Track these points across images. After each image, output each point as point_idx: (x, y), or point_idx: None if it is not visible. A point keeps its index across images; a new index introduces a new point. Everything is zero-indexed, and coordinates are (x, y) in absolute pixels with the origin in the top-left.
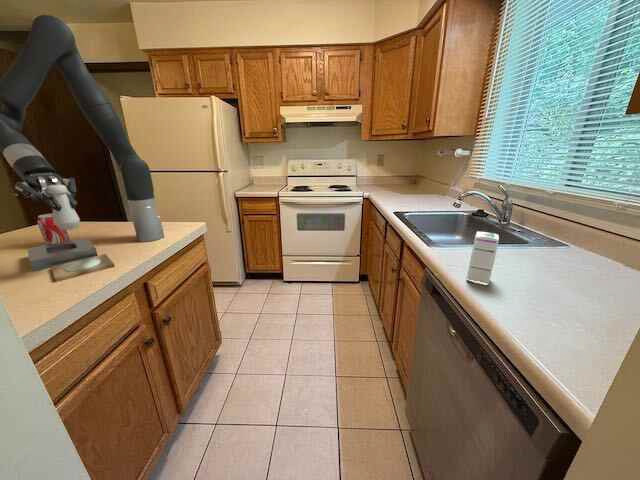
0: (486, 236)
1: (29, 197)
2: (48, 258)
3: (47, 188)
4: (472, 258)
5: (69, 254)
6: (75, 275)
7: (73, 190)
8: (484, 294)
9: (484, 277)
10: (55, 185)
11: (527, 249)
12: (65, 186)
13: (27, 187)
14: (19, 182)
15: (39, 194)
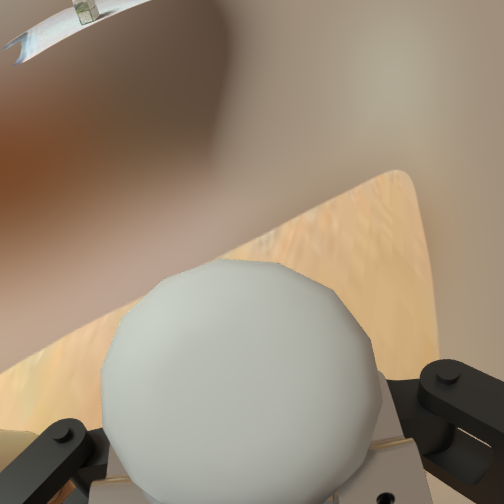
0: None
1: (486, 454)
2: (332, 499)
3: (374, 360)
4: (88, 4)
5: None
6: None
7: (63, 432)
8: (112, 12)
9: (96, 11)
10: (247, 330)
11: (32, 35)
12: (113, 340)
13: None
14: None
15: (443, 368)
